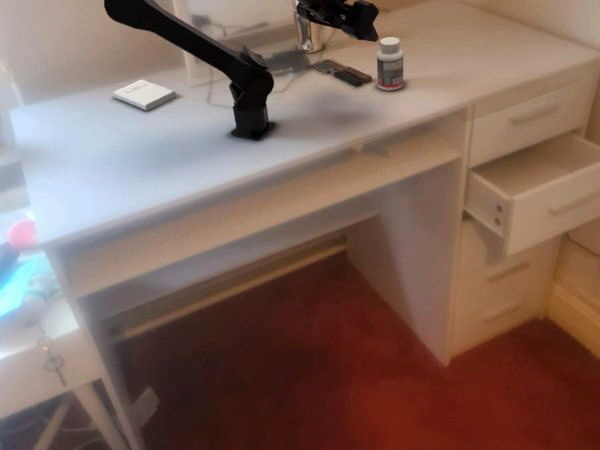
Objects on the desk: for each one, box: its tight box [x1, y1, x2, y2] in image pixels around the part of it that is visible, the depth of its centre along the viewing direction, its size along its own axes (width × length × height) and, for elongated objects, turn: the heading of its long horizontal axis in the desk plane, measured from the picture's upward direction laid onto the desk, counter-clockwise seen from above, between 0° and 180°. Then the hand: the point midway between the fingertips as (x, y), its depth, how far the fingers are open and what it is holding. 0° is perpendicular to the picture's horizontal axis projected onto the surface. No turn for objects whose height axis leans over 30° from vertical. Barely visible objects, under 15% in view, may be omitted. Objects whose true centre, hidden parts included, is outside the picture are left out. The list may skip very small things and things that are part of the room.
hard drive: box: [112, 79, 177, 112], centre depth 134 cm, size 2×8×12 cm
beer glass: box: [290, 0, 323, 54], centre depth 143 cm, size 7×7×15 cm
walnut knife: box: [321, 59, 373, 84], centre depth 135 cm, size 16×2×1 cm, turn 34°
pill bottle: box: [376, 36, 404, 92], centre depth 124 cm, size 5×5×10 cm
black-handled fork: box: [311, 61, 363, 88], centre depth 134 cm, size 16×3×1 cm, turn 34°
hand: (361, 33), depth 116 cm, fingers open, 9 cm apart
